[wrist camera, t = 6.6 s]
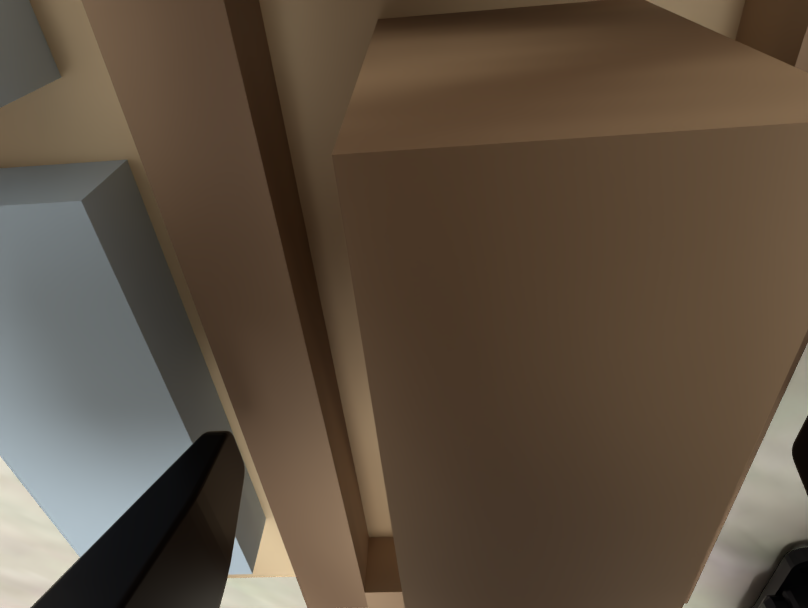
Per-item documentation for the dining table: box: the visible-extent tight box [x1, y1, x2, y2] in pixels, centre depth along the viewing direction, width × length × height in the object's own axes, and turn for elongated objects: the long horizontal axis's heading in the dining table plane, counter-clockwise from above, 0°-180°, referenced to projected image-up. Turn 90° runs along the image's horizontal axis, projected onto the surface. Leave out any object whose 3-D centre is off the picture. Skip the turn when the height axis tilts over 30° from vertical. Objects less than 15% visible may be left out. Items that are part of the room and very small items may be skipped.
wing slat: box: [0, 160, 266, 575], centre depth 11 cm, size 4×10×2 cm, turn 5°
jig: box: [0, 0, 808, 608], centre depth 11 cm, size 16×18×3 cm
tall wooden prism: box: [332, 0, 808, 608], centre depth 8 cm, size 4×12×6 cm, turn 5°
